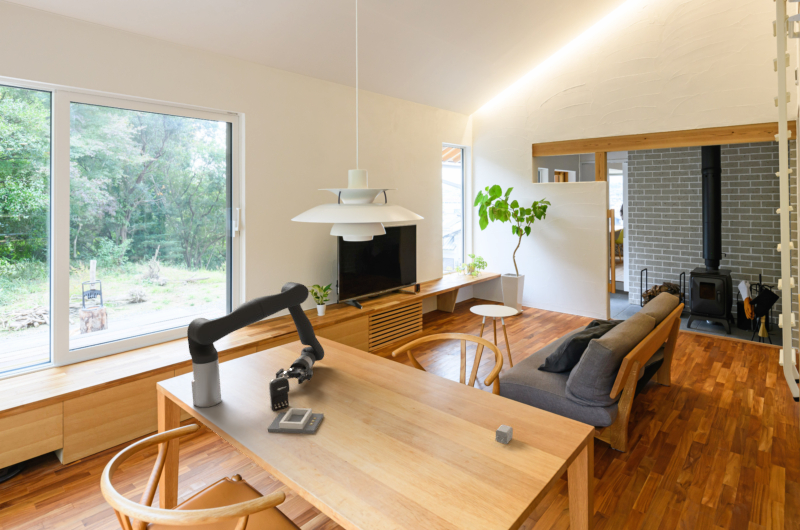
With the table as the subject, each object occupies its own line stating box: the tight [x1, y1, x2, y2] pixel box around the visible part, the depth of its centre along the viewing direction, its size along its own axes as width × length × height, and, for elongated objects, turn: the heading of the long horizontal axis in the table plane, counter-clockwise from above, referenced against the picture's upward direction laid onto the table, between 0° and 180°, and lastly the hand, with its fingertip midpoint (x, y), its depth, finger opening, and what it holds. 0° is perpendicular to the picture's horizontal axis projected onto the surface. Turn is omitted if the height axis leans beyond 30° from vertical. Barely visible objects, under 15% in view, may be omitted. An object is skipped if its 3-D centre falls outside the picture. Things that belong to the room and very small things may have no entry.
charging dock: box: [267, 407, 324, 435], centre depth 157 cm, size 16×12×3 cm
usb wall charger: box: [494, 424, 514, 445], centre depth 144 cm, size 4×7×4 cm, turn 145°
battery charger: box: [268, 376, 290, 411], centre depth 169 cm, size 7×4×11 cm, turn 130°
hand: (288, 381), depth 178 cm, fingers open, 8 cm apart
